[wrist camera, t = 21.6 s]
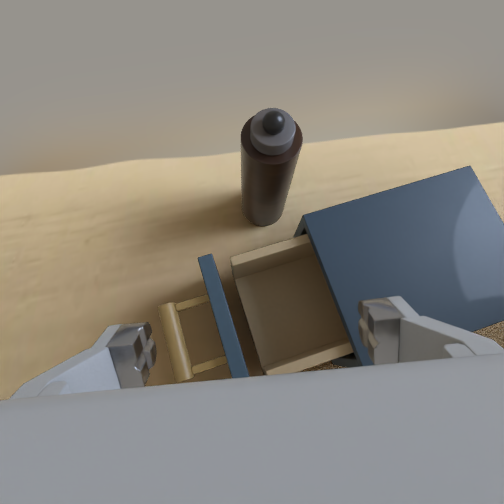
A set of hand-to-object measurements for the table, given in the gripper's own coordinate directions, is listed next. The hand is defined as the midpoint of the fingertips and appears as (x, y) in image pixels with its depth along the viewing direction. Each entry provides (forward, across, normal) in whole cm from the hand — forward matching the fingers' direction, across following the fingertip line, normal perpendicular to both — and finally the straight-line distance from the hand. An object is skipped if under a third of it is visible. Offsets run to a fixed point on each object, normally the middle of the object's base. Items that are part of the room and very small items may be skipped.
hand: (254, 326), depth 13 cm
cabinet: (+20, -12, +8) cm, 25 cm away
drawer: (+17, -1, +9) cm, 19 cm away
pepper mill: (+25, -1, 0) cm, 25 cm away
